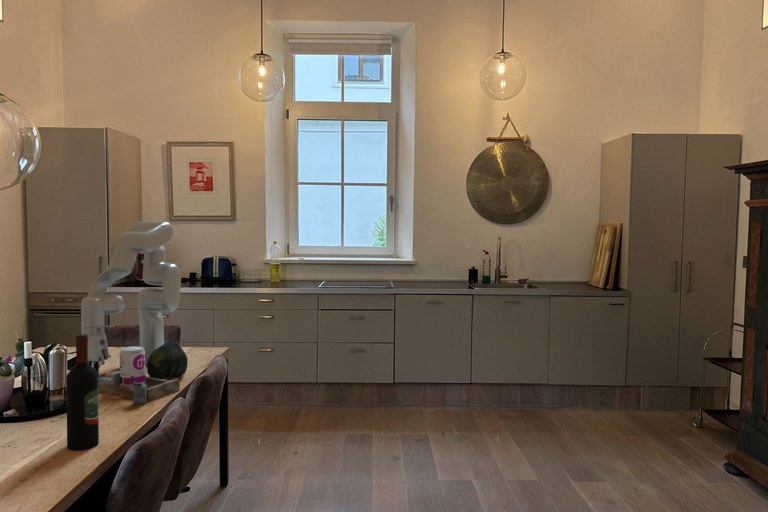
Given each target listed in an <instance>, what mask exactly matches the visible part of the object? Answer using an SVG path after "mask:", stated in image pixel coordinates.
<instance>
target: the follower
mask: <svg viewBox="0 0 768 512" xmlns="http://www.w3.org/2000/svg"><path fill="white" fill-rule="evenodd" d="M98 382H103V383H108V384H113V385H118V386H120V370H119V371H116V372H112V373H110V377H107V374H106V372H105V373H104V372H102V373H99V374H98Z"/></svg>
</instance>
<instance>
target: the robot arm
mask: <svg viewBox="0 0 768 512" xmlns="http://www.w3.org/2000/svg"><path fill="white" fill-rule="evenodd" d="M173 235H174V228H173V226H172V225H171V224H170V223H169V222H167V221H156V220H155V221H153V220H142V221H141V220H140V221H137V222H135V223H134V224H133V227H132V231H125V232H123V233H121V234H119V237H118V239H117V243H116V245H115V248H114V251H113V253H112V256H111V259H110V262H109V265H108V266H107V267H106V268H105V269H104V270H103V271H102V272H100V274H98V276H97V277H96V278H95V279H94V280H93V282H92V283H91V286H90V287H89V290H88V293H87V296H86V297H83V298H82V299H81V303H80V312H81V314H80V317H81V321H80V322H81V323H80V324H81V326H80V328H81V334H80V335H88V364H89V366H91V367H93V368H94V369H95V370H96V371H97V373H98V374H100V373H99V372H100V368H101V366H103V365H105V363H106V362H105V361H106V360H108V359H109V358H108V351H109V348H108V347H109V346H108V338H107V333H105V316H106V315H117V314H120V313H121V312H123V311H124V310H125V308H126V300H125V298H124V297H123V296H121V295H119V294H113V293H112V294H111V293H107V290H108V289H109V287H110V286H111V285H112V284H114V282H116V281H118V280H121V279H122V278H124V277H126V276H128V275H130V274H131V273H132V272H133V270H134V266H135V264H136V261H137V258H138V254H143V255H144V256H143V267H142V268H143V269H142V280H143V281H144V283H145V284H147V285H151V286H152V285H154V286H162V288H159V287H156V288H155V287H146V288H143V289H141V290H140V291H139V292H138V293H137V296H136V304H137V305H136V306H137V308H138V315H139V317H138V318H139V346H141V347H143V349H144V351H145V366H147V361H148V359H149V356H150V354H151V353H152V352H153V351H154V350H155V349H157V348H159V347H160V346H162V345H164V344H165V338H164V337H165V335H164V334H165V331H164V327H165V324H164V323H165V321H164V320H165V319H164V317H163V314H162V313H163V312H164V313H172V312H174V311H175V310H177V308H178V306H179V304H180V298H181V297H180V295H181V285H182V273H181V270H180V267H179V266H178V265H176V264H175V263H167V262H166V259H167V257H166V248H165V246H164V245H165V244H167V243H168V242H170V241H171V240H172V238H173Z"/></svg>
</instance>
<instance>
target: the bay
mask: <svg viewBox="0 0 768 512" xmlns="http://www.w3.org/2000/svg"><path fill="white" fill-rule="evenodd" d="M180 383H181V382H180V378H173V379H170V380H168V379H165V378H164V379H158V378H153V377H150V376H147V375H145V384H142V383H137V382H134V376H131V385H134V386H133V388H129V387H123V386H118V385H113V384H108V383H103V382H98V393H99V392H100V393H105V394H110V395H114V396H119V397H124V398H129V399H133V406H137V405H140V406H144V404H145V405H146V404H147V403H148V402H152V401H154V400H157V399H159V398H162V397H165V396H168V395H170V394H173V393H176V392H179V391H180V390H181V385H180ZM147 385H148V386H147ZM151 386H152V387H151ZM147 387H148V388H147ZM137 407H138V406H137Z"/></svg>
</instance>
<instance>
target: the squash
mask: <svg viewBox="0 0 768 512" xmlns="http://www.w3.org/2000/svg"><path fill="white" fill-rule="evenodd" d="M187 356H188V355H187V354H186V353H185V351H184V349H183V348H182V347H181V346H180V344H179V343H178V341H177V340H172V341H169V342H166V343H164V345H162V346H160V347H159V348H157V349H155V350H154V351H153V352H152V353H151V354H150V356H149V359H148V361H147V365H146V371H147V374H148V377H153V378H158V379H164V380H165V379H171V378H173V379H179V378H181V377H182V376H185V374H186V373H187V369H188V363H189V362H188V361H189V360H188V357H187Z"/></svg>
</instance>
